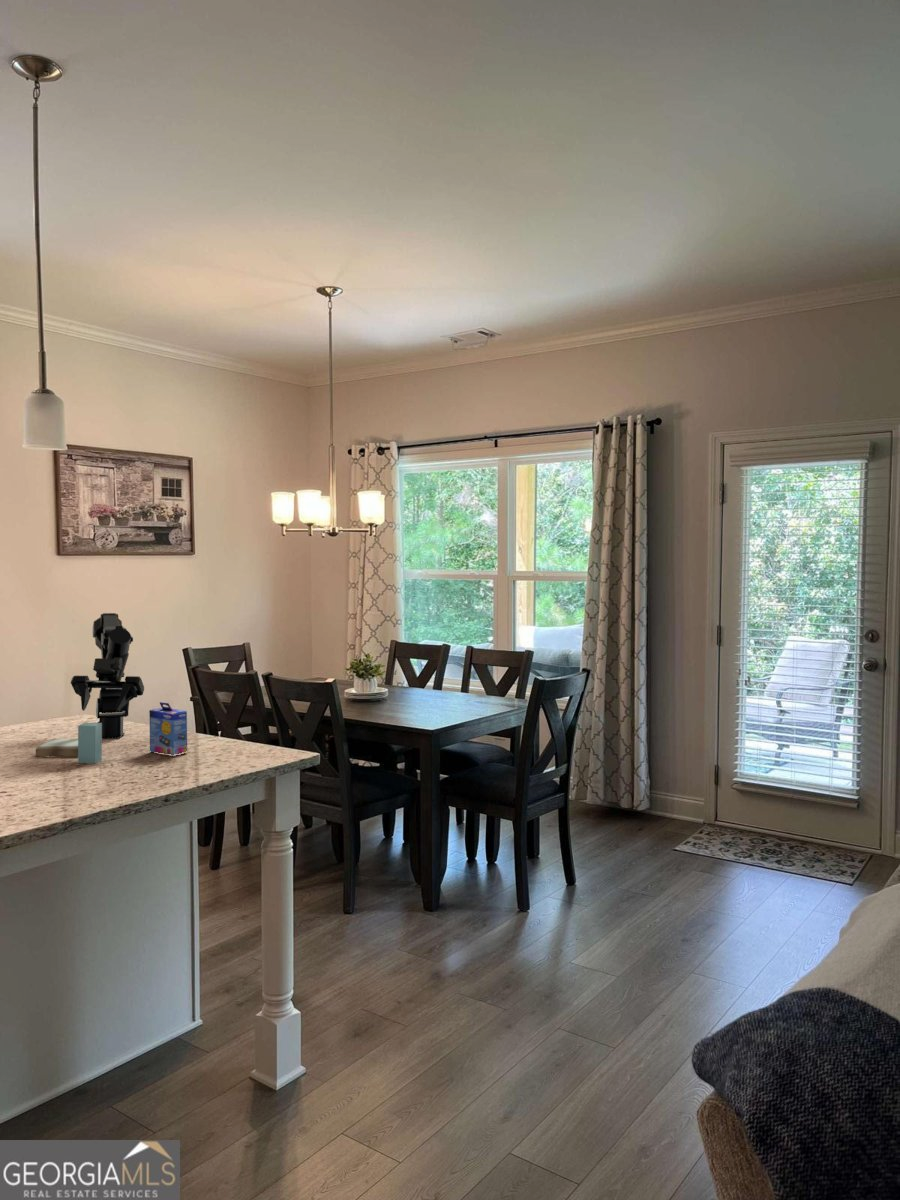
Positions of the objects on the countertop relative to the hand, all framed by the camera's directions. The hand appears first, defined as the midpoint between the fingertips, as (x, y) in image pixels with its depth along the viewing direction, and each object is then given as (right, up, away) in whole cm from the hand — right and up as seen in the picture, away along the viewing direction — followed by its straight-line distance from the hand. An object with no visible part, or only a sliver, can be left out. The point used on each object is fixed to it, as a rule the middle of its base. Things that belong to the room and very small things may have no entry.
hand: (99, 710), depth 237 cm
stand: (-11, -12, +4) cm, 17 cm away
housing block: (0, -13, -7) cm, 14 cm away
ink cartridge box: (+17, -13, +5) cm, 22 cm away
